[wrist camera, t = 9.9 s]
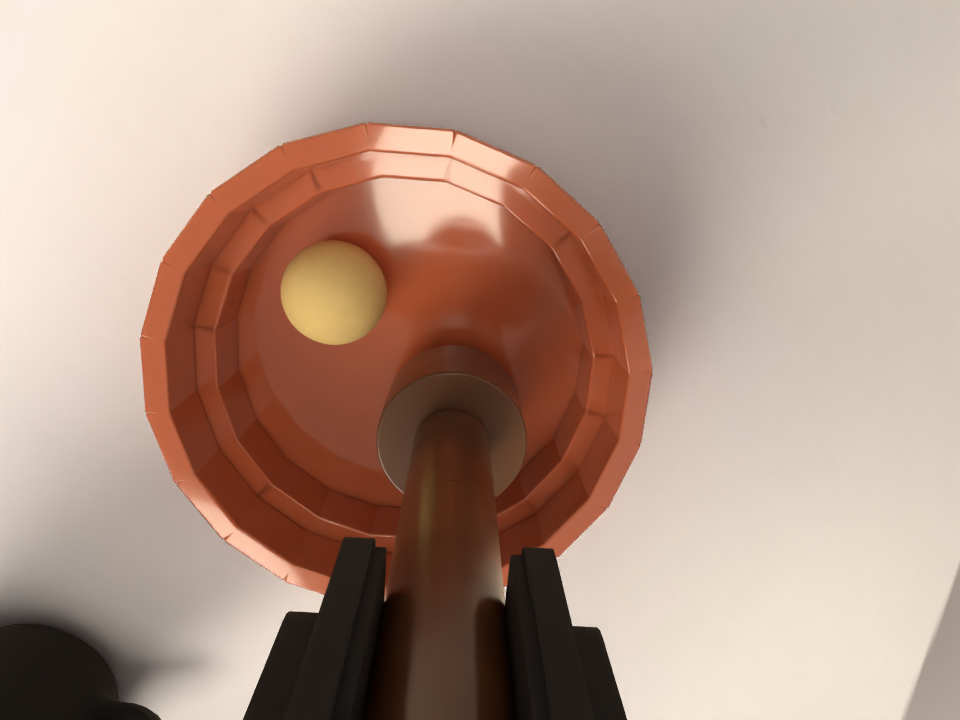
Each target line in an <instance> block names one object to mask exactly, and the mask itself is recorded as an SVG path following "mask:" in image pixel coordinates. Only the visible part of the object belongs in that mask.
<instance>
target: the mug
mask: <svg viewBox="0 0 960 720" xmlns="http://www.w3.org/2000/svg"><path fill="white" fill-rule="evenodd" d="M0 720H161V719H160V718H159V716H158V715H156V714H155V713H154V712H152V711H151V710H149V709H148V708H146V707H143V706H141V705H137V704H134V703H128V702H122V701H118V691H117V686H116V682H115V679H114V677H113V674H112V672H111V670H110V669H109V667H108V665H107V664H106V662H105V661H104V660H103V658H102V657H101V656H100V655H99V654H98V653H97V652H96V651H95V650H94V649H93V648H92V647H90V646H89V645H88V644H86V643H85V642H83V641H82V640H80V639H79V638H77V637H75V636H73V635H71V634H69V633H67V632H64V631H62V630H59V629H55V628H52V627H47V626H42V625H34V624H15V625H8V626H3V627H0Z"/></svg>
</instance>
